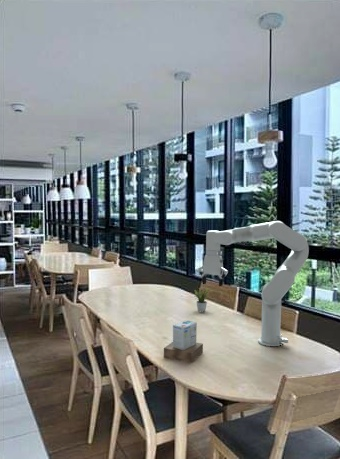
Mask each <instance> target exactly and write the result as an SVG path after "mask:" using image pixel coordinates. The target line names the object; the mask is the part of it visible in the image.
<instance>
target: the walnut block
mask: <svg viewBox="0 0 340 459" xmlns="http://www.w3.org/2000/svg"><path fill="white" fill-rule="evenodd" d="M203 353H204V343H202V342H196V345H193V346H191V347H189V348H187V349H185V350H181V349H178V348H175V347H173V341H172V342H170V343H169V344H168V345H166V346H165V347H163V358H164V357H165V359H169V358H170V360H176V361H179V362H185V363H190V364H191V363H194V362H195V360H197V359H198V358H199V357H200V356H201V355H202V354H203Z"/></svg>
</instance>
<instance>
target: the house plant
mask: <svg viewBox="0 0 340 459" xmlns="http://www.w3.org/2000/svg"><path fill="white" fill-rule="evenodd" d="M198 289H199V291H200V293H199V291H198V290H196V289H195V288H194V289H193V290H194V294H195V295H194V297H195V298H196V299H197V301H196V308H197V312H199V311H205V312H206V310H207V305H208V301H206V300H209V296H208V294H209V293H210V292H212V291H213V289H212V290H208V289H209V287H207V288H205V289H204V291H203V288H201V287H200V288H198Z"/></svg>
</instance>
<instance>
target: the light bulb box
mask: <svg viewBox="0 0 340 459" xmlns="http://www.w3.org/2000/svg"><path fill="white" fill-rule="evenodd" d="M197 325H198V323H197V321H191V320H187V319H185V320H183V321H181V322H178V323H174V324H172V342H173V347H175V348H178V349H181V350H185V349H187V348H189V347H191V346H193V345H196V343H197V332H198V331H197V330H198V329H197V327H198V326H197Z"/></svg>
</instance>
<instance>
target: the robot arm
mask: <svg viewBox="0 0 340 459" xmlns="http://www.w3.org/2000/svg"><path fill="white" fill-rule="evenodd" d="M205 237H206V238H205V239H206V240H205V243H206V244H205V255H204V257H203V258H204V259H203V265H202V266H200V267H197V269H198V272H199V274H200V276H201V278H202V279H201V282H202V285H206V284H207V275H213V276H218V278H219V279H218V287H222V286H223V285H224V279H225V277H226V276H227V274H228V273H229V270H227V269H226V268H224V264H223V257H222V255H223V251H221V245H225V246H230V245H232V244H236V243H241V242H259V241H264V240H270V239H275V240H276V241H278V242H279V243H280V244H282V245H284V246H285V247H287V248H288V249H291V250H290V253H288V254H289V255H288V256H287V258H286V259H285V260H284V261H283V263H281V265H280V266H279V267H278V268H277V269H276V271H275V274H274V275H273V277H272V278H270V280H269V282H267V283H265V284H264V285H263V286H262V290H261V299H262V300H261V330H260V331H261V332H260V333H261V334H260V335H261V336H260V337H259V338H258V339H257V342H258V344H260V345H262V346H265V345H266V346H265V347H270V346H278V347H280V346H279V345H281V346H283V345H284V344H289V338H287V337H283V336H282V335H283V334H282V333H281V323H282V322H281V320H282V316H281V315H282V299H283V297H284V296H285V295H286V293H288V291H289V290H290V289H291V287H292V286H293V285H294V283H295V279H296V276H297V275H298V273H299V272H300V270H301V269H302V268H303V266H304V264H305V263H306V262H307V260H308V257H309V253H310V252H309V250H310V247H309V243H308V240H307V238H306V237H305V236H304V234H303V233H301V232H298V231H296V230H294V229H293V228H291V227H289V226H288V225H286V224H285V223H284V222H283V221H281V220H275V221H269V222H267V221H266V222H263V223H257V224H251V225H248V226H243V227H237V228H233V229H227V230H221V231H219V230H215V229H214V230H207V231H206V236H205ZM202 270H203V271H202ZM282 344H283V345H282Z"/></svg>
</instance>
